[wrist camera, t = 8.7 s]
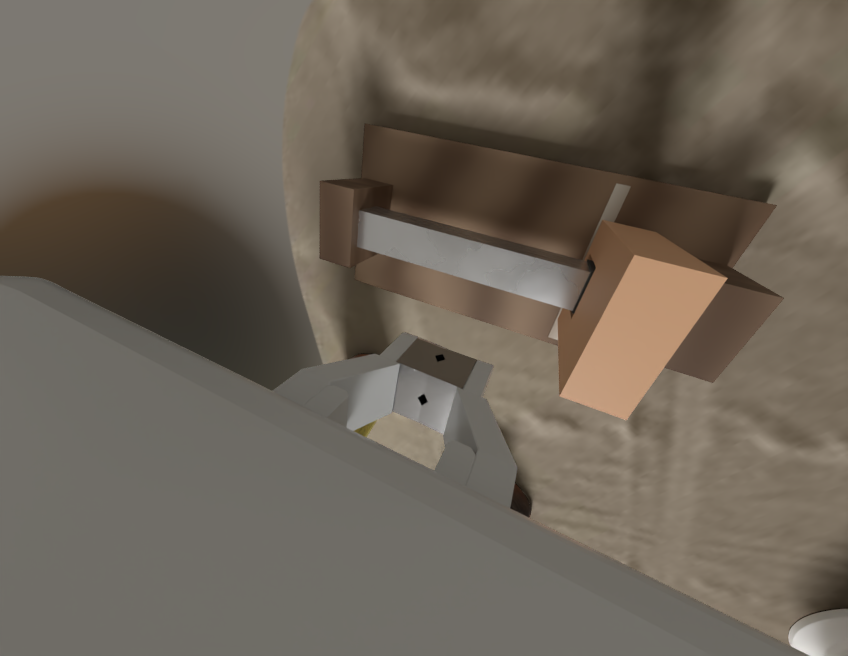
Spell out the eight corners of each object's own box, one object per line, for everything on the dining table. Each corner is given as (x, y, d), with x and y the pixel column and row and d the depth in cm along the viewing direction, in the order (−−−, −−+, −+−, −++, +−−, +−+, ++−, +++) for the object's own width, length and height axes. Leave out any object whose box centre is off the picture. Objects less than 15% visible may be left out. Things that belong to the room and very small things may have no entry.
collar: (656, 232, 18) (727, 278, 11) (601, 332, 22) (626, 420, 14) (602, 219, 19) (634, 254, 11) (557, 319, 22) (559, 396, 15)
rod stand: (766, 203, 18) (861, 220, 12) (651, 369, 24) (680, 430, 18) (371, 124, 23) (315, 112, 18) (360, 276, 29) (316, 301, 24)
